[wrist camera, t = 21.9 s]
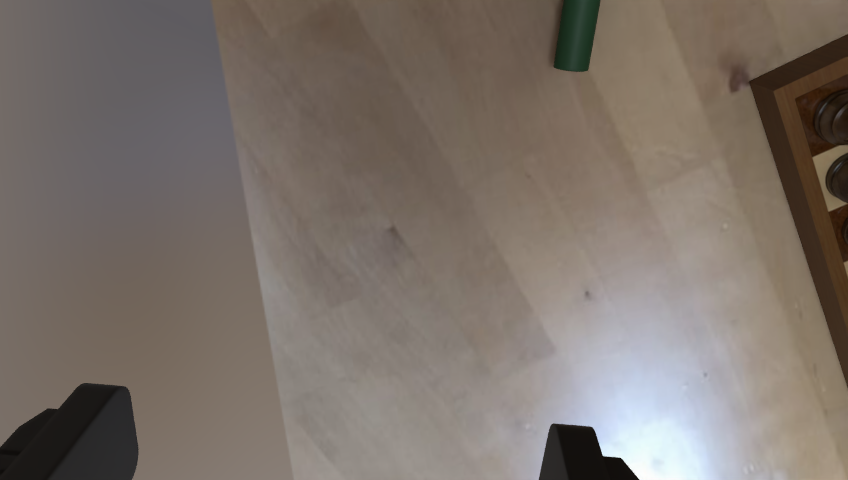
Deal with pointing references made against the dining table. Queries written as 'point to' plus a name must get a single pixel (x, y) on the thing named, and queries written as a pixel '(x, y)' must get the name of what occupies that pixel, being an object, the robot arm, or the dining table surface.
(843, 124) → the chess set
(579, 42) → the bottle
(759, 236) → the dining table surface
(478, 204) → the dining table surface
